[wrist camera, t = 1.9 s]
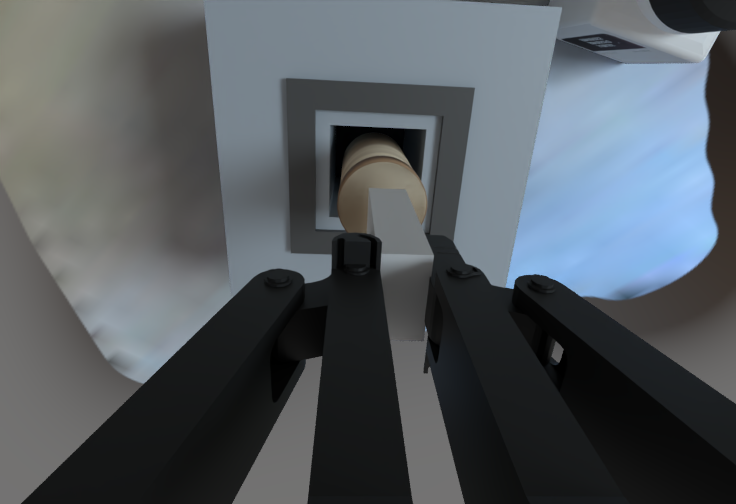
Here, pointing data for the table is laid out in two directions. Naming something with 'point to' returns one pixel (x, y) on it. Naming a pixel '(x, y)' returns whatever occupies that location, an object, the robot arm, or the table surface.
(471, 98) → the socket block
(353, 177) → the peg
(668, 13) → the container
